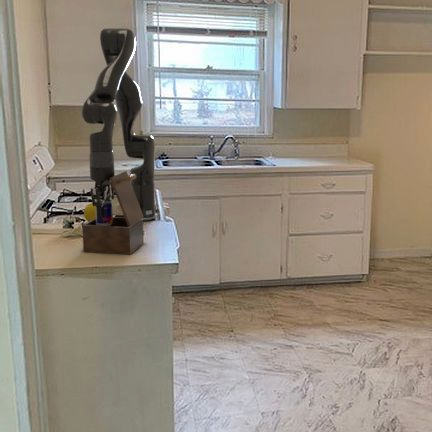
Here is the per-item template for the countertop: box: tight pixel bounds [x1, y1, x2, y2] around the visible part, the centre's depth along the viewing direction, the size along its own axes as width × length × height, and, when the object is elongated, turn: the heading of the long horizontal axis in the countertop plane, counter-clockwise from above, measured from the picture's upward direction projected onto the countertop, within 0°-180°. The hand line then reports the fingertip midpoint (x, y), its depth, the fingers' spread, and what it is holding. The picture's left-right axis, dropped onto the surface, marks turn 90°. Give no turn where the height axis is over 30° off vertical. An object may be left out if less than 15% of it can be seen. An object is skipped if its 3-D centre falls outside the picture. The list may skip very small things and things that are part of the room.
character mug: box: [112, 194, 125, 218], centre depth 209 cm, size 11×7×13 cm, turn 176°
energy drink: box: [95, 201, 114, 226], centre depth 189 cm, size 5×5×12 cm
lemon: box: [83, 202, 96, 222], centre depth 219 cm, size 6×6×8 cm
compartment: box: [81, 216, 145, 255], centre depth 190 cm, size 16×13×9 cm
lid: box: [109, 170, 144, 227], centre depth 186 cm, size 16×13×5 cm
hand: (104, 215), depth 188 cm, fingers closed on energy drink, 5 cm apart
